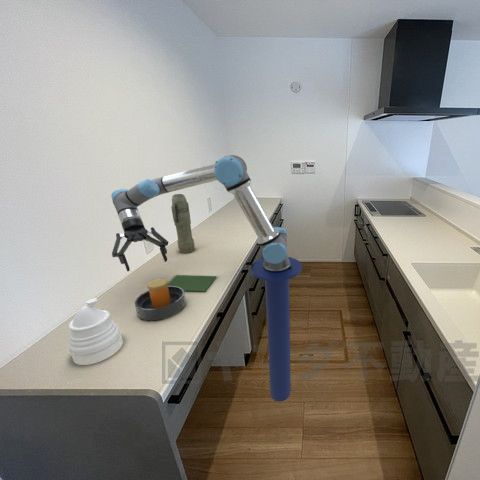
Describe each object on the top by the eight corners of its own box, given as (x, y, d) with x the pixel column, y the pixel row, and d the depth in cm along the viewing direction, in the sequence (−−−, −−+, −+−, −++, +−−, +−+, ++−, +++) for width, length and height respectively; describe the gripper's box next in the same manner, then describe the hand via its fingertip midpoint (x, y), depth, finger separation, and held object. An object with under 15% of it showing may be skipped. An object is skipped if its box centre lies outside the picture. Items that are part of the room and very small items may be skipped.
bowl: (193, 297, 116) (191, 286, 114) (172, 322, 100) (170, 310, 98) (154, 296, 116) (151, 285, 114) (127, 321, 100) (124, 309, 98)
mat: (216, 277, 133) (216, 276, 133) (205, 292, 120) (204, 291, 120) (177, 276, 133) (176, 275, 133) (161, 290, 120) (161, 289, 120)
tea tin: (175, 302, 111) (170, 278, 107) (166, 312, 104) (161, 287, 100) (158, 301, 111) (153, 278, 107) (148, 311, 104) (143, 287, 100)
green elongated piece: (199, 247, 168) (191, 193, 155) (188, 255, 157) (179, 197, 144) (186, 246, 169) (177, 192, 156) (174, 254, 158) (164, 196, 145)
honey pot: (119, 330, 95) (107, 287, 88) (126, 350, 86) (112, 304, 80) (71, 348, 86) (54, 301, 80) (73, 372, 78) (54, 322, 71)
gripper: (162, 221, 124) (178, 260, 120) (95, 232, 107) (111, 278, 103) (164, 212, 119) (181, 253, 114) (93, 222, 102) (110, 270, 98)
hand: (148, 265), depth 109 cm, fingers open, 13 cm apart
